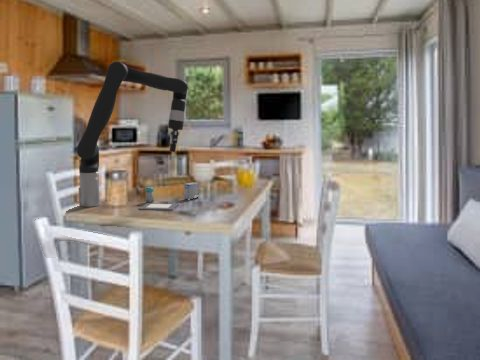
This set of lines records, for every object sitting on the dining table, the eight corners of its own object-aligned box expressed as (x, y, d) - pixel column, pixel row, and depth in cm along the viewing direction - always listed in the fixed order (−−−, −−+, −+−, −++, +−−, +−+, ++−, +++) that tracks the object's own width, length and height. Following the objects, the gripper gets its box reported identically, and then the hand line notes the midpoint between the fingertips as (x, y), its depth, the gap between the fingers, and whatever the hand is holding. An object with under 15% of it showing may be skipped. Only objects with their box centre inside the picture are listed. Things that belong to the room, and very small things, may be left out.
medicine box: (193, 197, 259) (193, 182, 258) (199, 198, 257) (199, 183, 255) (183, 199, 253) (183, 184, 252) (190, 200, 250) (189, 184, 249)
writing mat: (138, 209, 226) (138, 208, 226) (146, 204, 238) (146, 202, 238) (172, 210, 224) (172, 208, 224) (178, 205, 237) (178, 203, 237)
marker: (144, 203, 242) (144, 188, 241) (147, 201, 246) (146, 187, 245) (152, 203, 242) (152, 188, 240) (154, 201, 246) (154, 187, 245)
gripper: (168, 119, 239) (164, 150, 239) (169, 118, 225) (165, 150, 225) (182, 121, 240) (178, 152, 241) (185, 120, 226) (180, 152, 227)
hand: (172, 151), depth 233 cm, fingers open, 8 cm apart
